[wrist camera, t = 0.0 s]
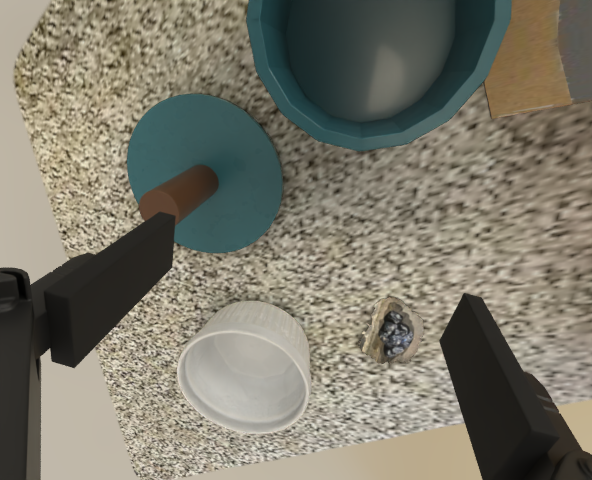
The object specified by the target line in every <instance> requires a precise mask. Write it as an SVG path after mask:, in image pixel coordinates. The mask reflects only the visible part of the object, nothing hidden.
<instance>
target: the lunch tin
mask: <svg viewBox="0 0 592 480" xmlns="http://www.w3.org/2000/svg"><path fill="white" fill-rule="evenodd" d="M511 7H512V0H249V2H248V10H247V17H246V22H247V27H248V32H249V37H250V42H251V47H252V52H253V57H254V62H255V67H256V72H257V74H258V76H259V77H260V79H261V81H262V82H263V84H264V86H265V87H266V89H267V90H268V92H269V94H270V95H271V97H272V99H273V100H274V102H275V104H276V105H277V107H278V109H279V110H280V112H281V113H282V114H283V115H284V116H285V117H286V118H288V119H289V120H290V121H292V122H293V123H294V124H296V125H297V126H298V127H300V128H301V129H302V130H304V131H305V132H306V133H308V134H309V135H310V136H312V137H313V138H314V139H315V140H318V141H319V142H323V143H327V144H331V145H335V146H339V147H343V148H347V149H351V150H355V151H367V150H374V149H381V148H388V147H394V146H401V145H405V144H408V143H410V142H412V141H413V140H415V139H417V138H419V137H421V136H422V135H424V134H426V133H428V132H429V131H431V130H433V129H435V128H437V127H438V126H440V125H442V124H444V123H445V122H447V121H449V119H451V118H452V117H453V116H454V115H455V113H456V112H457V111H458V110H459V109H460V108H461V107H462V105H463V104H464V103H465V102H466V101H467V100H468V99H469V98H470V96H471V95H472V94H473V93H474V92H475V91H476V90H477V88H478V87H479V86H480V85H481V84H482V83H483V82H484V80H485V79H486V77H487V76H488V74H489V72H490V69H491V67H492V64H493V62H494V60H495V57H496V55H497V52H498V50H499V48H500V45H501V43H502V40H503V38H504V36H505V33H506V31H507V28H508V26H509V23H510V20H511Z"/></svg>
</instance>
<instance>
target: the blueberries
mask: <svg viewBox="0 0 592 480" xmlns="http://www.w3.org/2000/svg"><path fill="white" fill-rule="evenodd" d="M374 307H375V309H376V310H374V312H373V313H372V315H371V317H372V320H373V322H372V325H369V324H368V323H367V324H368V326H369V328H368V330H367V332H365V331H364V332H363V333H362V334H364V336H363V337H362V338H361V340H360V341H359V343H360V344H359V345H358V346H360V349H361V350H362V352H364V353H365V354H366V355H370V356H371V358H376V359H375V361H376V362H378V363H381V364H384V363H385V362H388V363H389V364H390V363H394V362H395V361H396V360H400V362H402V363H403V362H405V363H406V364H407V363H408V361H410V362H411V359H410V358H411V357H413V356H414V354H415V353H416V352H417V350H418V348H419V346H418V344H419V341H420V342H422V341H421V338H420V337H423V334H424V330H423V329H424V328H423V322H424V321H423V320H422V319H421V318H420V317H419V316H418V313H416V312H415V311H414V312H412V311H411V308H408V306H406V305H405V304H404V302H403V301H402V300H400V299H399V300H398V299H397V298H394V297H392V298H391V297H389V298H387V299H381V300H380V301H379V302H378V303H376V304H375V306H374ZM414 338H415V339H414ZM363 347H364V348H363Z"/></svg>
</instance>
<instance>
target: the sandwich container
mask: <svg viewBox="0 0 592 480" xmlns="http://www.w3.org/2000/svg"><path fill="white" fill-rule="evenodd" d="M484 83H485V88H486V93H487V97H488V102H489V107H490V112H491V117H492V119H494V118H499V117H505V116H510V115H516V114H522V113H527V112H533V111H538V110H544V109H550V108H555V107H561V106H566V105H572V104H578V103H583V102H589V101H592V0H512V7H511V20H510V23H509V26H508V28H507V31H506V33H505V36H504V38H503V40H502V43H501V45H500V48H499V50H498V52H497V55H496V57H495V60H494V62H493V64H492V67H491V69H490V72H489V74H488V76H487V77H486V79H485V80H484Z"/></svg>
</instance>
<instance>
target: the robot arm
mask: <svg viewBox="0 0 592 480" xmlns="http://www.w3.org/2000/svg"><path fill="white" fill-rule="evenodd" d="M175 219H176V216H175V215H171V214H167V213H164V212H160V211H159V212H158V213H157V214H155V215H154V216H152V217H151V218H149V219H148V220H146V221H145V222H143V223H142V224H140V225H139V226H138V227H136V228H135V229H133V230H132V231H130V232H129V233H127V234H126V235H124V236H123V237H121V238H120V239H119V240H117V241H116V242H114V243H113V244H111V245H110V246H108V247H107V248H105V249H104V250H102V251H101V252H100V253H98V254H97V255H95V254H91V253H86V254H83V255H80V256H77V257H73V258H72V259H70V260H69V261H67V262H66V263H64V264H63V265H62V266H60V267H58V268H56V269H55V270H53V272H50V273H48V274H47V275H45V276H44V277H42V278H41V279H39V280H37V281H36V282H34V283H33V284H31V285H30V279H29V276H28V273H27V272H25V271H23V270H22V269H17V268H0V480H40V471H41V470H40V469H41V468H40V467H41V461H40V460H41V360H40V356H41V355H43V354H44V353H45V352H46V351H47V350H48V349H49V348H50V350H51V359H52V362H55V363H59V364H62V365H66V366H69V367H72V368H75V367H76V366H77V365H78V364H79V363H80V362H81V361H82V360H83V359H84V358H85V356H87V355H88V353H90V351H91V350H92V349H93V348H94V347H95V346H96V345H97V344H98V343H99V342H100V341H101V340H102V339H103V338H104V337H105V336H106V335H107V334H108V333H109V332H110V331H111V330H112V329H113V328H114V327H115V326H116V325H117V324H118V323H119V322H120V321H121V319H122V318H123V317H124V316H125V315H126V314H127V313H128V312H129V311H130V310H131V309H132V308H133V307H134V306H135V305H136V304H137V303H138V302H139V301H140V300H141V299H142V298H143V297H144V296H145V295H146V294H147V293H148V292H149V291H150V290H151V289H152V287H153V286H154V285H155V284H156V283H157V282H158V281H159V280H160V279H161V278H162V277H163V276H164V275H165V274H166V273H167V272H168V271H169V270H170V269H171V268H172V260H173V247H174V233H175ZM440 344H441V348H442V351H443V354H444V357H445V360H446V364H447V367H448V370H449V373H450V376H451V380H452V383H453V386H454V389H455V393H456V396H457V399H458V402H459V405H460V409H461V412H462V415H463V418H464V421H465V425H466V428H467V431H468V434H469V437H470V441H471V444H472V447H473V450H474V453H475V457H476V460H477V463H478V466H479V469H480V473H481V476H482V479H483V480H592V455H591V454H590V453H588V452H585V451H583V450H582V449H581V447H580V445H579V444H578V442H577V440H576V439H575V437H574V435H573V434H572V432H571V430H570V429H569V427H568V425H567V424H566V422H565V420H564V419H563V417H562V416H561V414H559V410H558V409H557V407H556V405H555V404H554V403H552V399H551V397H550V396H549V394H548V392H547V391H546V389H545V387H544V386H543V385H542V384H541V383H540V382H539V381H538V380H537V379H536V378H535V377H534V376H533V375H532V374H529V373H525V372H523V370H522V368H521V367H520V365H519V363H518V361H517V360H516V358H515V356H514V354H513V352H512V351H511V349H510V347H509V345H508V344H507V342H506V340H505V338H504V336H503V335H502V333H501V331H500V329H499V328H498V326H497V324H496V322H495V320H494V319H493V317H492V315H491V313H490V312H489V310H488V308H487V306H486V305H485V303H484V301H483V299H482V298H481V297H477V296H473V295H470V294H466V293H464V294H463V296H462V298H461V300H460V302H459V304H458V306H457V308H456V310H455V312H454V314H453V316H452V317H451V319H450V321H449V323H448V325H447V327H446V329H445V331H444V333H443V335H442V337H441V339H440Z"/></svg>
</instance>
